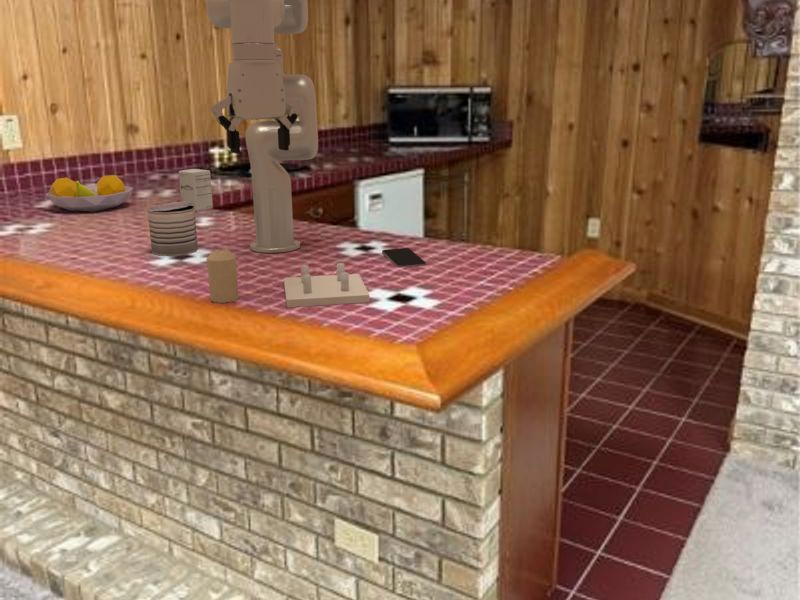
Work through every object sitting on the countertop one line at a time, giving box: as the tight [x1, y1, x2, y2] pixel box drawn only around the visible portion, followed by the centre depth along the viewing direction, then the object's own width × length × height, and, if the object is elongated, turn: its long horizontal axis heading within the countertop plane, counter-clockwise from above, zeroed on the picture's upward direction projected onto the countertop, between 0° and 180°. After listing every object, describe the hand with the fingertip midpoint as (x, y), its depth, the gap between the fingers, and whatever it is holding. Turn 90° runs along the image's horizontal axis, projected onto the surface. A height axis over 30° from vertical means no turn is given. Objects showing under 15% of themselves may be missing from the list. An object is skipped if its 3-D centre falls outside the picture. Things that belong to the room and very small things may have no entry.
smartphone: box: [381, 247, 427, 268], centre depth 178 cm, size 7×1×15 cm
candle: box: [206, 248, 240, 304], centre depth 146 cm, size 6×6×10 cm
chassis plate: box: [283, 262, 371, 308], centre depth 150 cm, size 16×16×5 cm
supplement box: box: [178, 168, 214, 212], centre depth 243 cm, size 7×7×13 cm
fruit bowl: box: [45, 174, 134, 212], centre depth 245 cm, size 28×27×11 cm
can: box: [146, 201, 199, 257], centre depth 186 cm, size 11×11×12 cm
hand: (260, 151), depth 139 cm, fingers open, 9 cm apart
